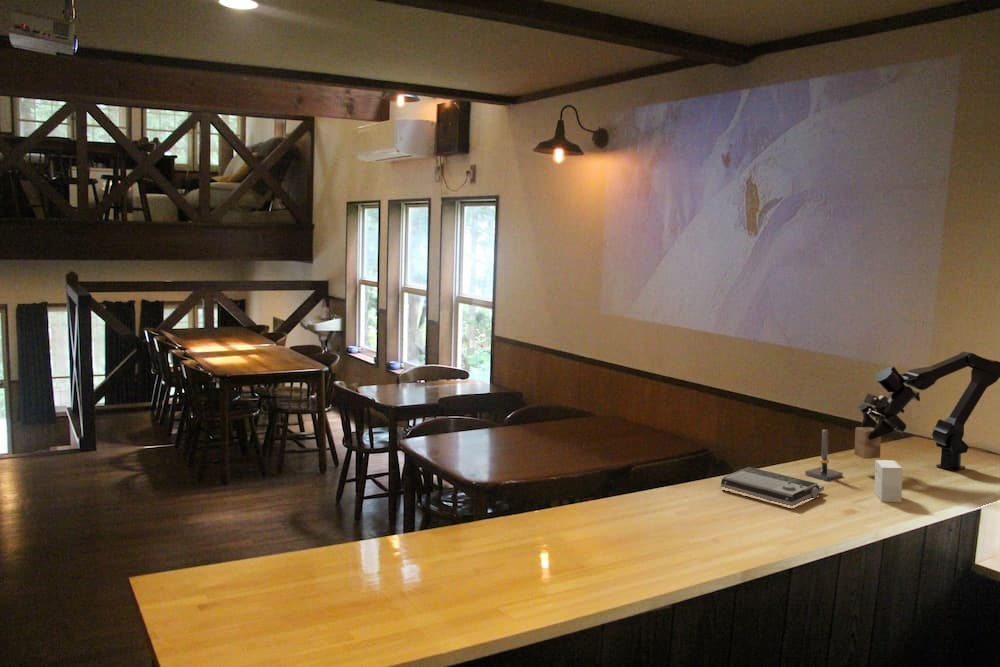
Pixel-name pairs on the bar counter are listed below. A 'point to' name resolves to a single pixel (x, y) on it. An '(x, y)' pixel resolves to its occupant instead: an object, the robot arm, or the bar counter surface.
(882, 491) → the small box
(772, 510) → the bar counter surface
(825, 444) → the height gauge
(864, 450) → the walnut block
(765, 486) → the radio
